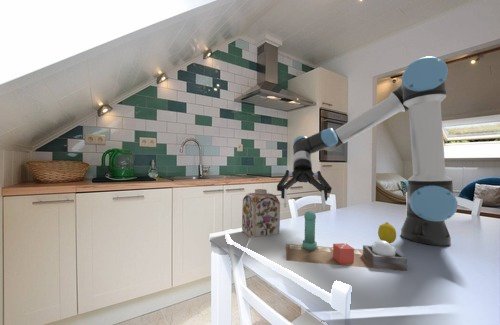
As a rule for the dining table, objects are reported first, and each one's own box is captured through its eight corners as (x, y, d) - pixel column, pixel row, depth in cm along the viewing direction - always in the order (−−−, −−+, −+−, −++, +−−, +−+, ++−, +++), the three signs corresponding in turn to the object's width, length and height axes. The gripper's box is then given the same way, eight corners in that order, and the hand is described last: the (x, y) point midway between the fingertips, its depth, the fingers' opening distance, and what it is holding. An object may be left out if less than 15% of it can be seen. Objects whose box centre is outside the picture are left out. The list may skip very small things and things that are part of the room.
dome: (389, 254, 63) (389, 238, 63) (399, 262, 58) (399, 245, 58) (368, 252, 64) (369, 236, 64) (376, 260, 59) (377, 243, 59)
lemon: (399, 248, 75) (399, 225, 75) (381, 246, 76) (381, 223, 76) (391, 242, 80) (392, 221, 80) (375, 241, 81) (375, 219, 81)
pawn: (315, 246, 72) (316, 209, 72) (317, 251, 67) (318, 212, 68) (301, 245, 72) (302, 209, 73) (303, 250, 68) (303, 212, 68)
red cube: (345, 256, 64) (346, 243, 64) (353, 263, 60) (354, 248, 60) (332, 257, 64) (333, 243, 64) (340, 263, 60) (340, 248, 60)
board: (384, 254, 69) (384, 241, 69) (407, 275, 56) (408, 259, 56) (285, 247, 74) (286, 234, 74) (286, 264, 61) (286, 249, 61)
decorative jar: (252, 240, 79) (253, 191, 79) (241, 231, 90) (241, 188, 90) (280, 236, 84) (281, 190, 84) (266, 228, 95) (267, 187, 95)
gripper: (331, 170, 93) (339, 214, 78) (273, 169, 97) (269, 209, 82) (334, 158, 88) (343, 202, 73) (272, 157, 92) (269, 198, 77)
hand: (304, 206), depth 78 cm, fingers open, 13 cm apart
